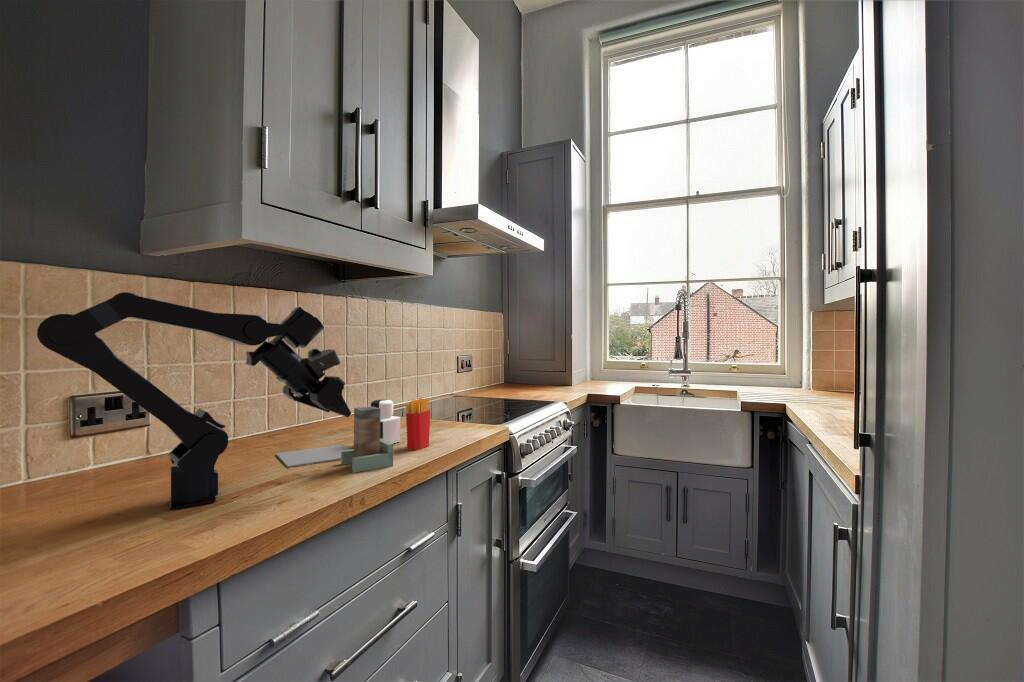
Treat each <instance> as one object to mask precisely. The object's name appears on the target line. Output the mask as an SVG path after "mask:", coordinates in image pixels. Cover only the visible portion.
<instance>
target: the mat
mask: <svg viewBox="0 0 1024 682" xmlns="http://www.w3.org/2000/svg"><path fill="white" fill-rule="evenodd" d="M344 450H351V449H350V448H348V447H347V446H344V445H343V444H338V445H337V444H336V445H331V446H322V447H314V448H308V449H307V448H306V449H300V450H291V451H285V452H284V451H283V452H276V453H275V456H276V455H277V456H278V457H279V458H278V457H277V456H276V457H277V458H278V459H279V460H280V461H281V462H282V463H283V464H284V466H286V468H287V469H289V467H291V468H297V467H302V466H301V465H304V466H308V465H307V464H310V465H315V464H314V463H317V464H322V463H321V462H323V463H328V462H327V461H330V462H335V460H337V461H341V451H344ZM296 466H297V467H296Z"/></svg>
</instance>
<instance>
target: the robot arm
mask: <svg viewBox="0 0 1024 682" xmlns="http://www.w3.org/2000/svg"><path fill="white" fill-rule="evenodd" d="M127 318H128V319H135V320H140V321H145V322H150V323H156V324H162V325H166V326H167V325H168V326H172V327H178V328H182V329H188V330H192V331H199V332H203V333H208V334H209V335H210V334H211V335H213V336H215V337H218V338H220V339H223V340H225V341H229V342H231V343H233V344H236V345H241V346H257V348H256V349H254V350H253V351H250V350H249V351H246V352H245V355H246V359H245V361H246V362H245V364H246V366H252V367H255V366H256V365H257V364H258V363H261V364H262V365H263V366H265V367H266V369H268V370H269V371H270V372H272V373H273V374H274V375H275V379H276V380H277V381H279V382H281V383H282V382H283V383H284V384H285V385H283V387H282V394H283V395H284V396H285V397H286V398H288V399H289V400H293V401H294V402H296V403H300V404H302V405H305V406H309V407H312V408H315V409H316V410H317V409H318V410H321V411H324V412H327V413H330V412H332V413H335V414H338V415H340V416H343V417H346V418H349V417H350V416H351V415H352V411H351V409H350V408H349V406H348V404H347V403H346V400H345V399H344V397H343V390H344V389H345V386H346V382H345V381H344V380H343V379H342V378H341V377H339V376H333V375H328V376H327V375H326V373H325V371H327V370H330V369H331V368H332V367H334V366H338V365H341V360H340V358H339V356H338V354H337V352H336V350H335V349H329V348H328V349H322V350H320V349H318V348H313V349H310V350H308V353H307V354H308V356H307V357H302V356H300V355H299V354H298V353H297V352H296V351H295V350H294V349H298V348H302V349H304V348H306V347H307V346H308V345H309V344H310V343H311V342H312V341H313V340H314V339H315V338H316V337H317V336H318V335H319V334H320V333H321V332H322V331H323V330H324V329H325V328H324V325H323V323H322V322H321V321H320V320H319V318H317V316H314V315H312V314H311V313H310V312H309V311H306V310H304V309H303V308H302V307H301V306H297V307H295V308H294V309H293V310H292V311H291V312H290V314H288V315H287V317H285V318H284V319H283V320H282V321H281V322H280V323H279V322H275V323H274V322H273V323H272V322H267V320H266V319H265V318H264V317H262V316H260V315H257V314H245V313H244V314H243V313H229V312H228V313H225V312H224V313H223V312H212V311H208V310H204V309H199V308H195V307H191V306H190V307H189V306H185V305H181V304H178V303H177V304H175V303H173V302H167V301H163V300H162V301H161V300H157V299H153V298H149V297H144V296H139V295H136V294H135V293H133V292H126V291H125V292H119V293H117V294H115V295H113V296H112V297H111V298H109V299H107V300H105V301H102V302H100V303H97V304H95V305H92V306H91V307H88V308H86V309H84V310H82V311H79V312H77V313H75V314H70V313H57V314H54V315H51V316H48V317H46V318H45V319H44V320H43V321H42V322H40V324H39V326H38V327H37V331H36V332H37V334H36V336H37V339H38V342H39V344H42V346H43V347H44V348H46V349H48V350H49V351H52V352H53V353H56V354H57V355H60V356H62V357H64V358H66V359H67V360H69V361H72V362H73V363H76V364H77V365H80V366H82V367H84V368H86V369H87V370H90V371H91V372H94V373H95V374H96V375H97V376H99V377H101V378H102V379H103V380H104V381H106V382H107V383H108V384H110V385H111V386H113V387H114V388H115V389H117V390H118V391H119V392H120V393H122V394H124V395H125V396H126V397H127V398H129V399H131V401H133V402H135V404H137V405H138V406H139V407H141V408H143V410H146V411H147V413H149V414H150V415H152V416H153V417H155V418H156V419H158V421H160V422H161V423H163V424H164V425H165V426H166V427H167V428H168V429H169V431H170V432H172V434H173V435H174V437H176V438H177V440H179V443H178V444H177V445H176V446H175V447H174V448H172V450H171V451H169V453H168V458H169V460H170V462H171V464H173V465H174V466H171V467H170V497H169V509H170V510H177V509H182V508H187V507H193V506H198V505H204V504H210V503H215V502H216V501H217V499H216V497H217V496H218V495H219V471H218V470H217V469H215V466H216V464H217V460H218V459H219V456H221V455H222V454H223V453H224V452H225V451H226V450H227V447H228V444H229V435H228V433H227V432H226V431H225V430H224V429H225V428H226V425H225V424H224V423H223V424H222V423H221V422H219V421H217V420H215V418H214V417H213V416H212V415H211V414H210V413H209V412H208V411H206V410H204V409H201V408H198V409H197V410H196V412H195V413H192V412H191V411H188V410H186V409H185V407H183V406H181V405H180V404H179V403H177V401H175V400H174V399H172V398H171V397H170V396H168V395H167V394H165V393H164V392H163V391H162V390H161V389H159V388H158V387H157V386H156V385H154V384H153V383H152V382H150V381H149V380H148V379H147V378H145V377H144V376H143V375H141V374H140V373H138V372H137V371H136V370H135V369H133V367H131V366H129V365H128V364H127V363H126V362H125V361H123V360H122V359H121V358H120V357H118V356H117V355H116V354H115V353H114V352H113V350H111V349H110V348H109V346H108V345H107V344H106V342H105V341H104V340H103V339H102V338H101V337H100V336H99V334H98V332H100V331H102V330H104V329H107V328H108V327H111V326H113V325H115V324H117V323H119V322H122V321H124V320H125V319H127ZM272 337H273V338H272ZM269 338H272V340H270V341H267V340H268V339H269ZM290 346H291V347H290ZM293 348H294V349H293ZM320 379H321V380H320Z"/></svg>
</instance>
